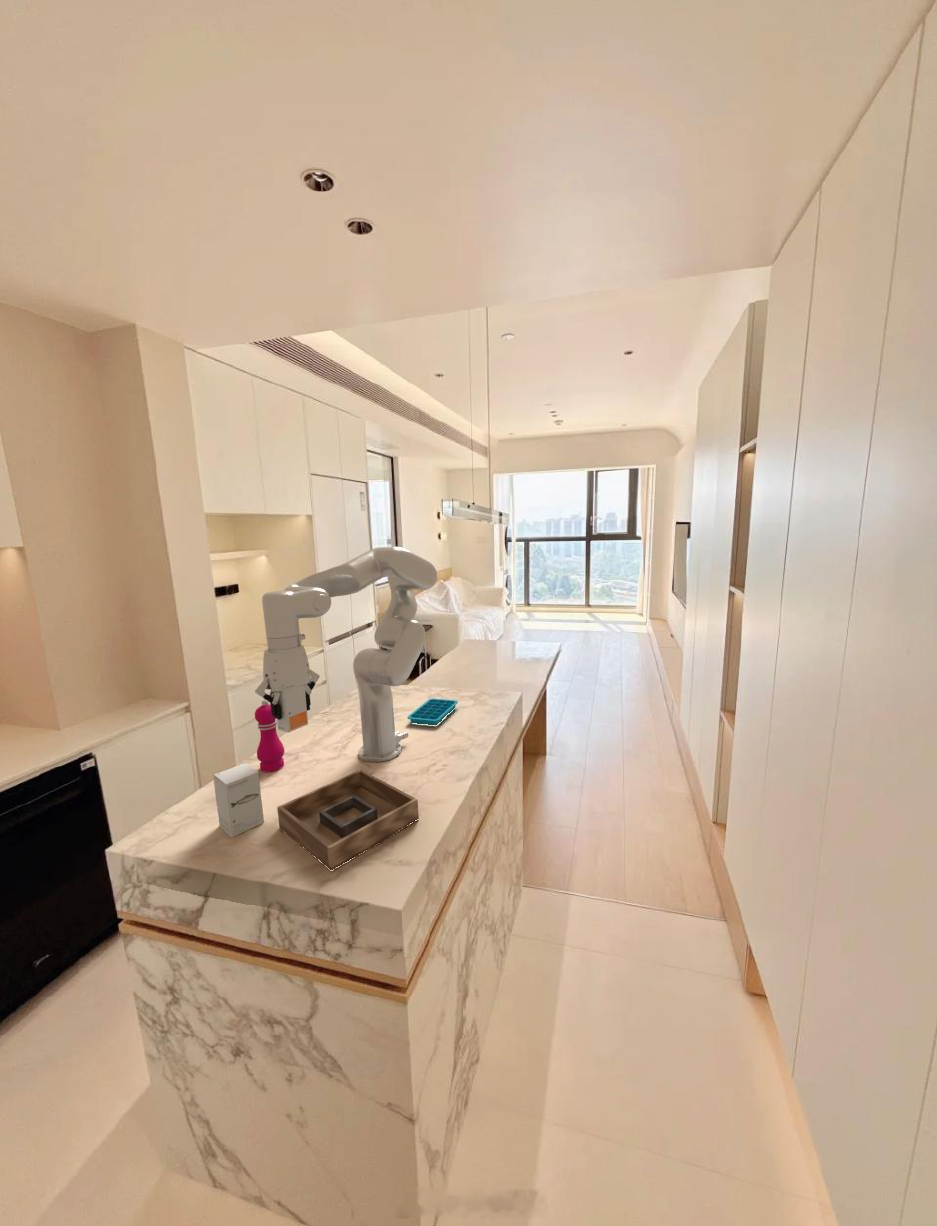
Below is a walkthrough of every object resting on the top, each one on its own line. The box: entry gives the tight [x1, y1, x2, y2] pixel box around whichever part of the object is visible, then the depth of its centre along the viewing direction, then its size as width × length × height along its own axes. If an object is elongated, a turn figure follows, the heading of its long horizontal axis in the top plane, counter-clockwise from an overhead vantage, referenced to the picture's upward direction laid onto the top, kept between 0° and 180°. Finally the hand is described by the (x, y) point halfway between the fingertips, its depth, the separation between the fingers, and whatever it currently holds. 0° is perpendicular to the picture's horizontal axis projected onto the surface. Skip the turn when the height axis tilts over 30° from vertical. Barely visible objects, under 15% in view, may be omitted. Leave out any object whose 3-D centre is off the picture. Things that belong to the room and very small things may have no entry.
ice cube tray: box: [407, 698, 459, 725], centre depth 169 cm, size 12×20×3 cm, turn 160°
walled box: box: [276, 769, 420, 871], centre depth 106 cm, size 22×22×5 cm
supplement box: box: [212, 762, 265, 838], centre depth 107 cm, size 7×7×13 cm
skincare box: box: [276, 684, 309, 734], centre depth 116 cm, size 6×4×12 cm
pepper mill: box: [254, 699, 285, 773], centre depth 134 cm, size 7×7×20 cm
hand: (292, 712), depth 117 cm, fingers closed on skincare box, 6 cm apart
